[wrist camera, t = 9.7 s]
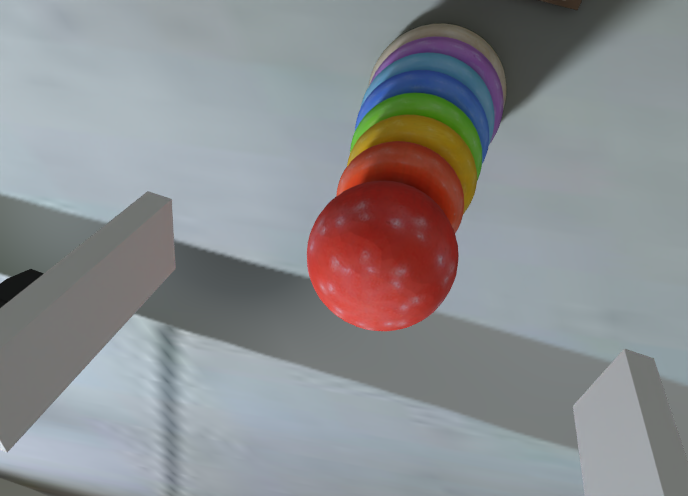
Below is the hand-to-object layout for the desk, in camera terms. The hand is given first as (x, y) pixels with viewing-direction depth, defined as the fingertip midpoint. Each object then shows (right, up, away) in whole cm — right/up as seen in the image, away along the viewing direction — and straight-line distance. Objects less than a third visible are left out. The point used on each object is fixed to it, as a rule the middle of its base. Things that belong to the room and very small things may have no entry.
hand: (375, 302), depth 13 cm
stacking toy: (+5, +11, +15) cm, 19 cm away
